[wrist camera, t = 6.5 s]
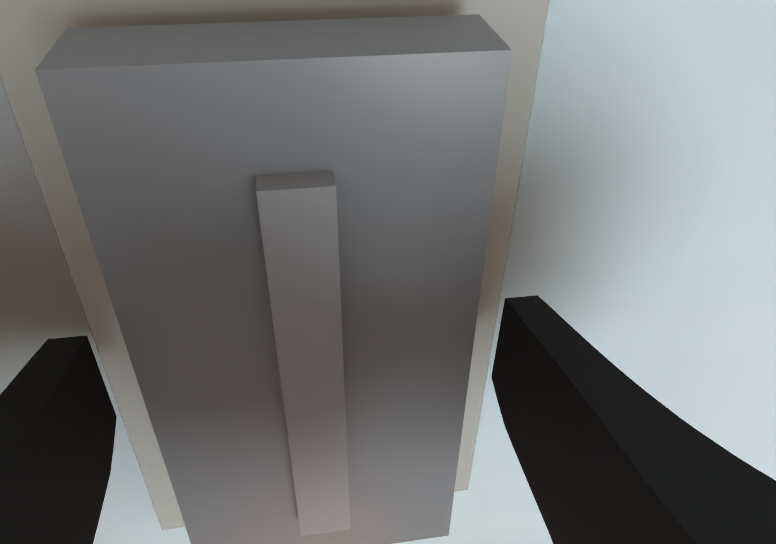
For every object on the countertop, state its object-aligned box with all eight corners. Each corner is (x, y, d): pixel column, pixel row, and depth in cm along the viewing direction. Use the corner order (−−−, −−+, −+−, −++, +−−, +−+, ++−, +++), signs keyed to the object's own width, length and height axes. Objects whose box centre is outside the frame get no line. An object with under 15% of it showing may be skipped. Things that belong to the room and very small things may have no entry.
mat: (465, 479, 18) (468, 489, 17) (163, 519, 16) (162, 529, 16) (559, -110, 9) (567, -107, 9) (-56, -111, 8) (-66, -108, 8)
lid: (429, 458, 16) (452, 552, 14) (206, 486, 15) (199, 589, 13) (468, 2, 9) (522, 60, 8) (76, 14, 9) (24, 82, 7)
